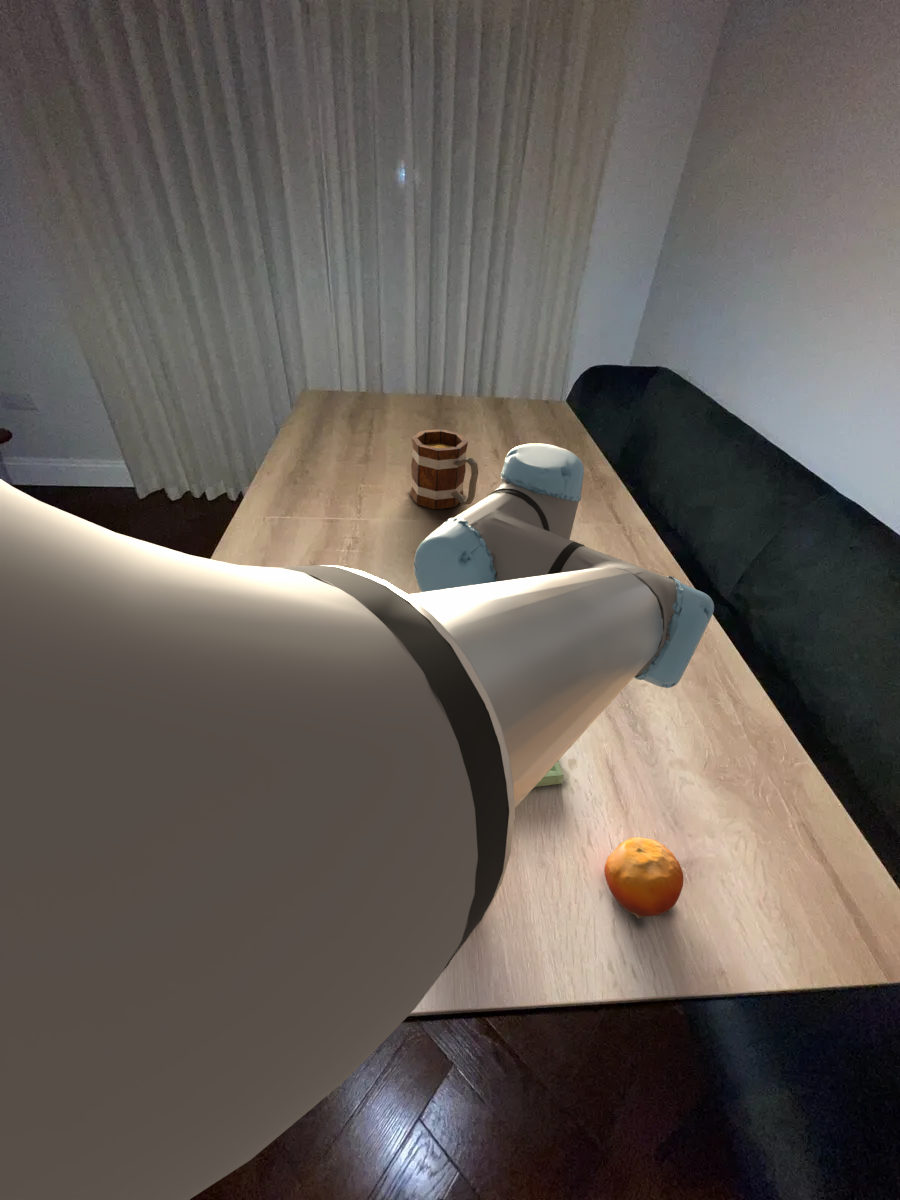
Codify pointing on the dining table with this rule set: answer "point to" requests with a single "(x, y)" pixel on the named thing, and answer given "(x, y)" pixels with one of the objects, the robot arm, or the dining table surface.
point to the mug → (441, 469)
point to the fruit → (644, 877)
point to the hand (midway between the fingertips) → (498, 720)
